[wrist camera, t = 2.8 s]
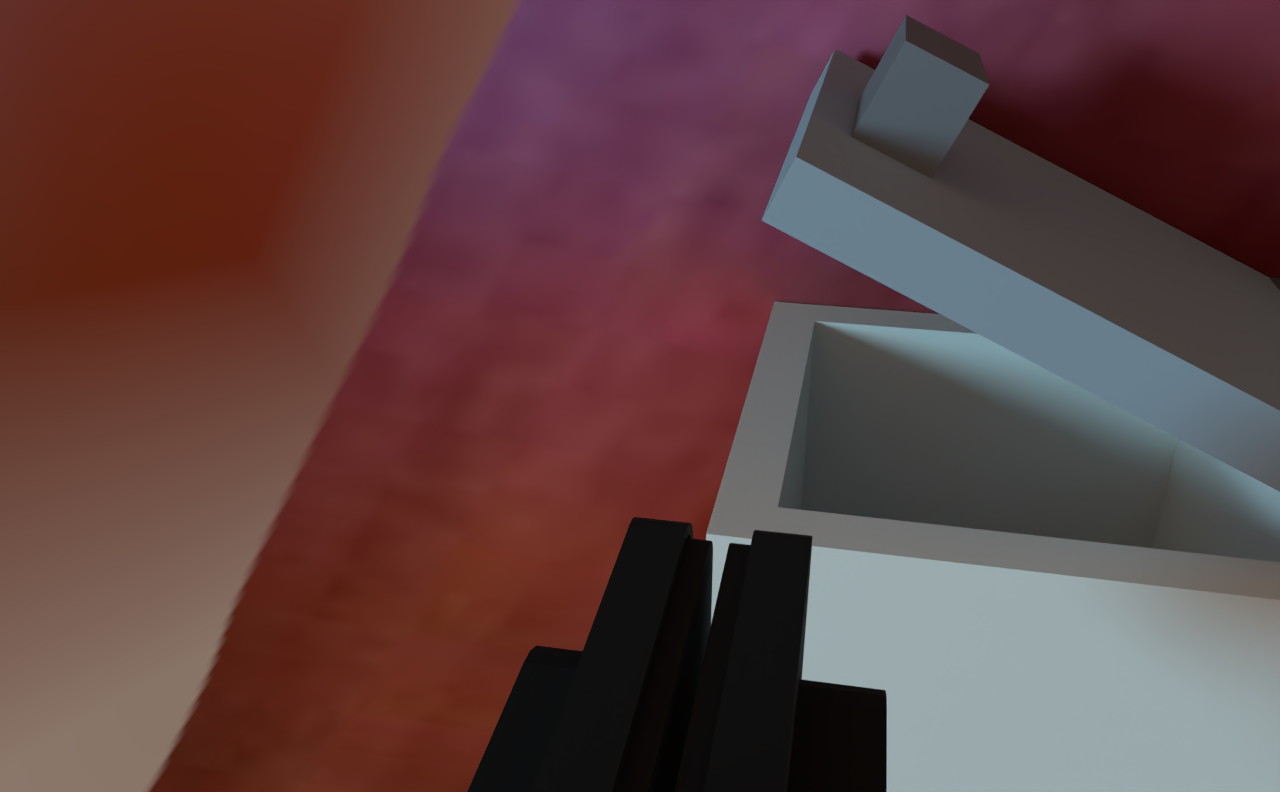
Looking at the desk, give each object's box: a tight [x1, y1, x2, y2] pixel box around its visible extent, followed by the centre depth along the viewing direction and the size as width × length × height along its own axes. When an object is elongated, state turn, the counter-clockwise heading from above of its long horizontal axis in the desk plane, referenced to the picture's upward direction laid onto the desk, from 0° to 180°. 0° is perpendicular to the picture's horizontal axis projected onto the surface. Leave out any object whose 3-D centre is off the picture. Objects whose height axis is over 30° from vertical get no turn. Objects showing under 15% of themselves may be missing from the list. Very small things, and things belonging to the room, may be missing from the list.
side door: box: [762, 15, 1280, 492], centre depth 19 cm, size 11×3×9 cm, turn 65°
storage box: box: [706, 302, 1280, 792], centre depth 24 cm, size 10×16×10 cm, turn 0°
